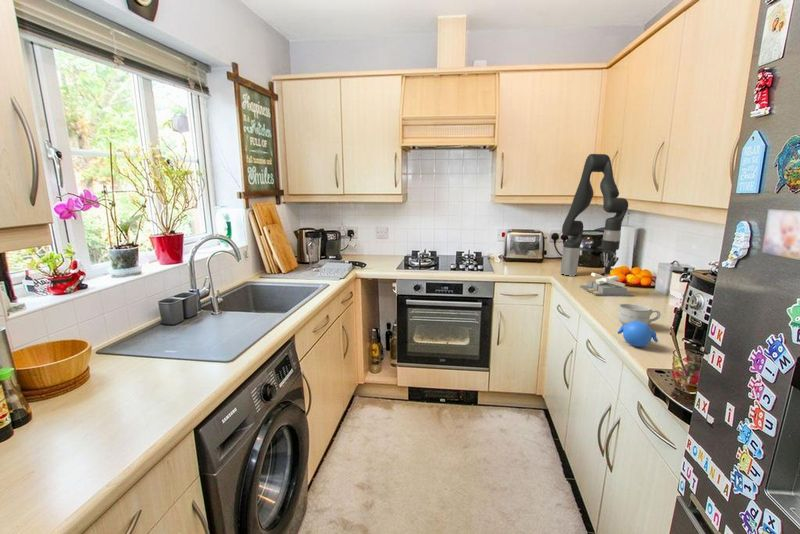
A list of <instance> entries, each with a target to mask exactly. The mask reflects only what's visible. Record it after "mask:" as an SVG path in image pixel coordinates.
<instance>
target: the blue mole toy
mask: <svg viewBox="0 0 800 534" xmlns="http://www.w3.org/2000/svg"><path fill="white" fill-rule="evenodd" d="M617 334H618V335H620V334H622V337H623V338H624V341H625V342H626V343H627V344H629V345H631V346H633V347H637V348H639V347H640V348H641V347H646V346H647V345H649V344H651V342H652V340H653V341H654V342H655V343H657V342H658V341H659V339H658V337H657V332H656V331H655V330H653V329H652V328H651V327H650V326H649V325H648V324H645V323H643V322H640V321H633V322H630V323H628V324H627V325H623V324H622V325H621V326H620V327H619V330H617ZM658 343H659V342H658Z"/></svg>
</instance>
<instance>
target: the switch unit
mask: <svg viewBox="0 0 800 534" xmlns="http://www.w3.org/2000/svg"><path fill="white" fill-rule="evenodd" d="M579 288H581V289H582V288H583V290H584V289H585V290H584V291H586V290H587V291H586V292H588V293H589V294H591V293H592V295H593V294H594V296H595V297H635V294H634V293H631V292H629V291H628V288H627V287H625V286H624V287H621V286H618V285H614V284H611V283H603V284H598V283H596V279H595V280H590V279H588V280H587V285H584V284H583V285H582V284H581V285H579Z"/></svg>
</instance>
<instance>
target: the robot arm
mask: <svg viewBox="0 0 800 534" xmlns="http://www.w3.org/2000/svg"><path fill="white" fill-rule="evenodd" d="M592 173H603V174H602V175H603V177H602V179H601V181H600V184H599V188H600V193H601V194H602V199H603V201H602V202H603V203H602V204H603V205H602V208H603V210H604V211H605V212H606V213H608V214H615V215H614V216H612V217H607V218H606V219H605V222H604V231H603V235H602V243H601V249H603V250H602V251H603V253H600V254H599V255H600V259H601V262H602V263H601V264H602V265H603V267H604V270H603V271H604V272H603V273H604V274H605V275H610V274H611V270H612V269H611V268H612V267H614V266H615V265H616V264H617V262H618V261H619V257H617V251H618V250H620V243H621V233H622V224H623V220H624V218H625V216H626V213H627V212H628V209H629V201H628V199H626V198H624V197H623V198H622V197H619V195H620V191H619V188H618V186H617V184H616V181H615V178H614V172H613V166H612V161H611V157H610V156H609V155H608V154H604V153H590V154H589V155H588V156H587V157H586V159H585V161H584V166H583V168H582V174H581V177H580V181H579V183H578V185H577V188H576V190H575V191H576V192H575V194H574V196H573V199H572V203H571V205H570V208H569V211H568V213H567V216H566V217H565V219H564V222H563V224H562V227H561V234H563V236H567V237H572V238H571V239H569V240H566V241H564V242H563V245H562V254H561V255H562V256H561V257H562V258H561V265H560V273H561V274H564V275H563V276H565V275H569V276H568V277H576V276H575V275H577V274H578V267H579V266H578V265H579V257H580V248H581V244H582V240H583V239H582V238H583V233H584V223H583V221H582V220H576V219H577V218H578V216H579V215H581V214H582V213H583V212H584V211H585V210H586V209H588V207H589V206H590V205H591V202H592V200H593V198H594V193H595V192H594V189H593V186H592V182H591V176H592ZM561 274H560V275H561ZM577 276H578V275H577Z"/></svg>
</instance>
